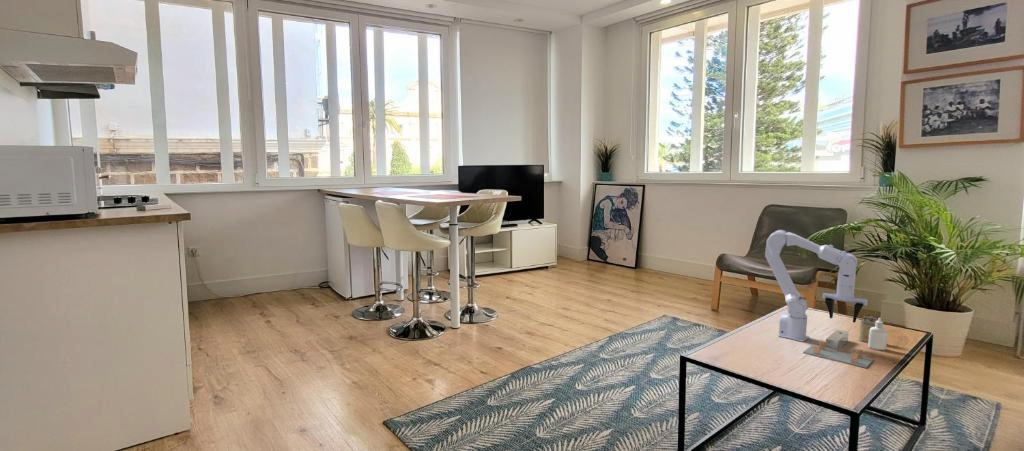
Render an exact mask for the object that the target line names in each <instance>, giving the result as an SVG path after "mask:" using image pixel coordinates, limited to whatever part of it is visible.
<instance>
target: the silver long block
mask: <svg viewBox="0 0 1024 451" xmlns="http://www.w3.org/2000/svg"><path fill="white" fill-rule="evenodd" d="M849 333H850V331H846V330H843V329H842V330H841V329H836V330H835V331H833V333H831V334H829V335H828V337H826V338H825V342H826V348H825V349H830V350H834V351H838V352H839V350H840V349H841V348H842V347H843V346H844V345H845V344H847V342H849Z"/></svg>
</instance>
